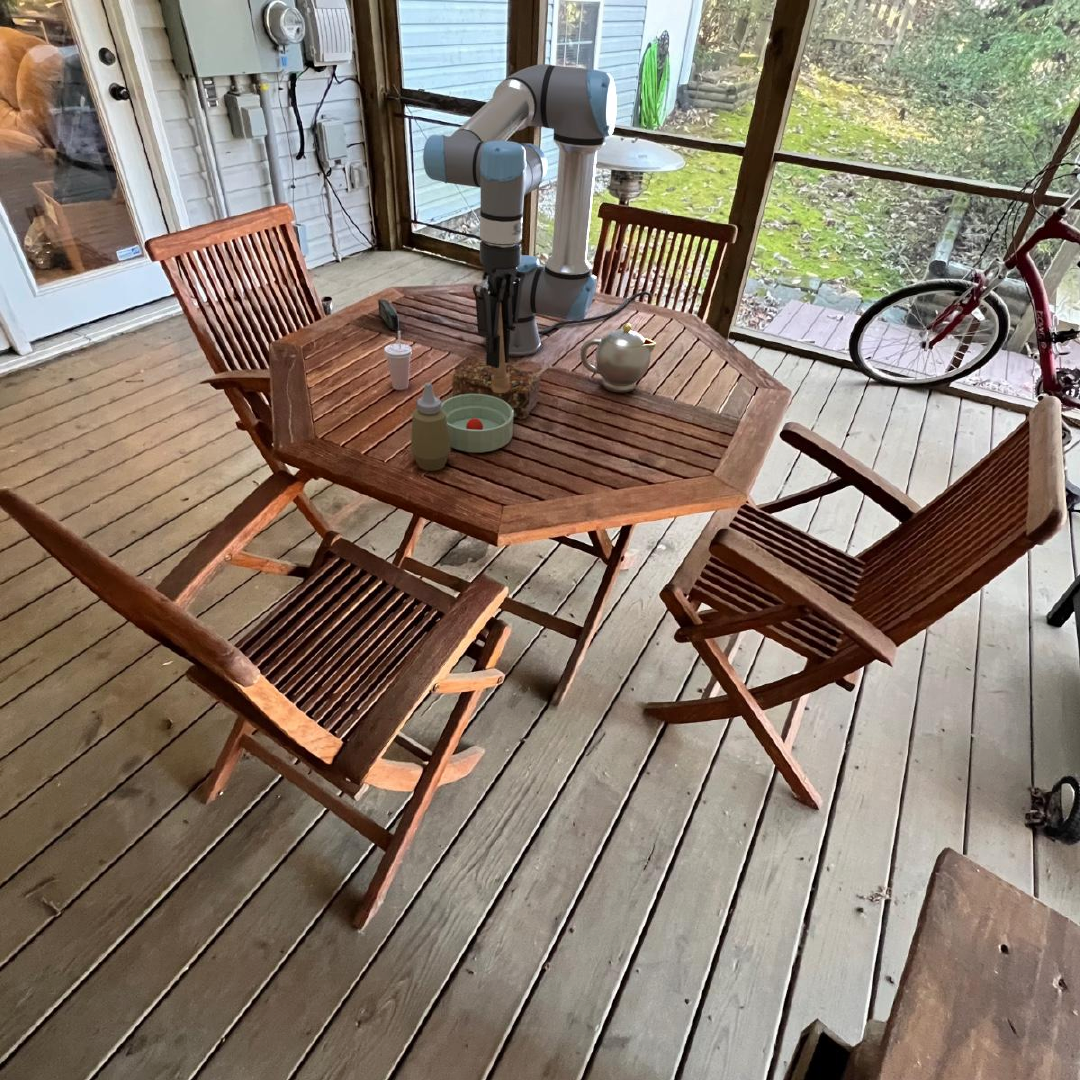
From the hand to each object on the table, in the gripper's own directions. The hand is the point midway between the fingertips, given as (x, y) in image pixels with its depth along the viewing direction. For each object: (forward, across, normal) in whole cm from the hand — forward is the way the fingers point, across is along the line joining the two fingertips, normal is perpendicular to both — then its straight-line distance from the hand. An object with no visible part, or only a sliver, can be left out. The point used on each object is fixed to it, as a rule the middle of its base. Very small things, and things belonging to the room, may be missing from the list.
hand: (497, 363), depth 138 cm
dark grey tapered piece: (+19, +31, +61) cm, 71 cm away
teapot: (+19, +41, -6) cm, 46 cm away
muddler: (+6, 0, -1) cm, 6 cm away
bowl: (+19, -1, +5) cm, 19 cm away
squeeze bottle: (+19, -15, +5) cm, 25 cm away
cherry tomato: (+16, -1, +5) cm, 17 cm away
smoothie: (+19, +5, +33) cm, 38 cm away
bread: (+19, +14, +10) cm, 25 cm away
